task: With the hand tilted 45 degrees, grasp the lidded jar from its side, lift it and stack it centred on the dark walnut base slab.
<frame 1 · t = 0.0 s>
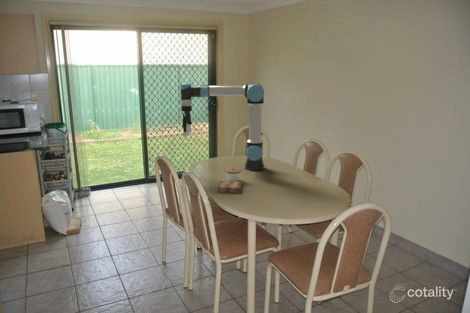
hand: (187, 134, 258), 28 cm above the table, tool pointing down, fingers open, 13 cm apart
lidded jar: (233, 181, 243), on the table
base: (229, 188, 227), on the table
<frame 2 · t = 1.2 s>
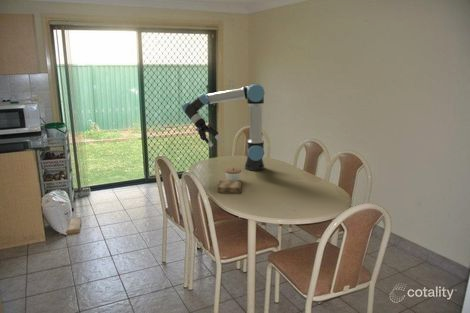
hand: (216, 144, 246), 24 cm above the table, tool tilted 45°, fingers open, 13 cm apart
nothing on the table moved.
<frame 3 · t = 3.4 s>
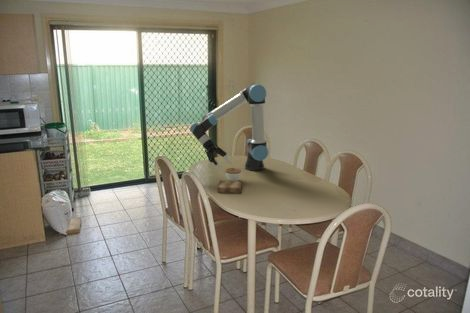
hand: (225, 165, 242), 10 cm above the table, tool tilted 45°, fingers open, 13 cm apart
nothing on the table moved.
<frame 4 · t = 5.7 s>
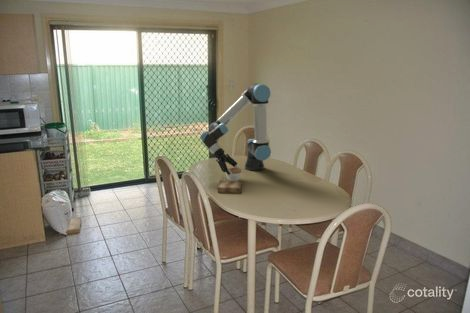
hand: (237, 175, 241), 4 cm above the table, tool tilted 45°, fingers closed on lidded jar, 11 cm apart
lidded jar: (233, 181, 243), on the table, touching gripper
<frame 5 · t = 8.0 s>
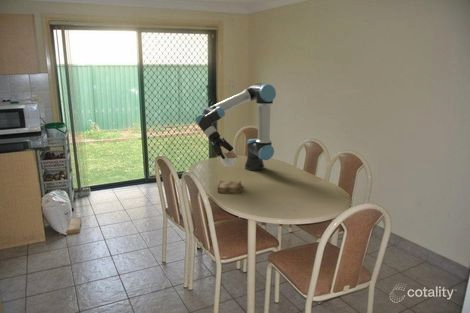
hand: (232, 160, 230), 17 cm above the table, tool tilted 45°, fingers closed on lidded jar, 11 cm apart
lidded jar: (228, 166, 232), point 13 cm above the table, touching gripper
when the fingers open (9 cm above the table, at t = 10.5 s): lidded jar drops 1 cm, resting on base.
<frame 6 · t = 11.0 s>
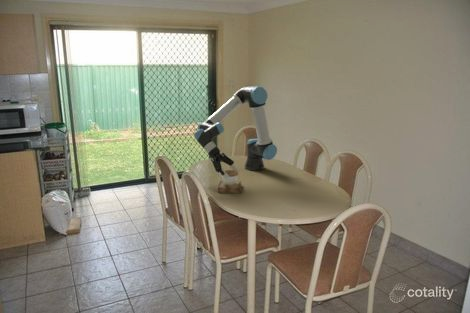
hand: (233, 175, 223), 9 cm above the table, tool tilted 45°, fingers open, 13 cm apart
lidded jar: (229, 184, 226), point 3 cm above the table, touching base
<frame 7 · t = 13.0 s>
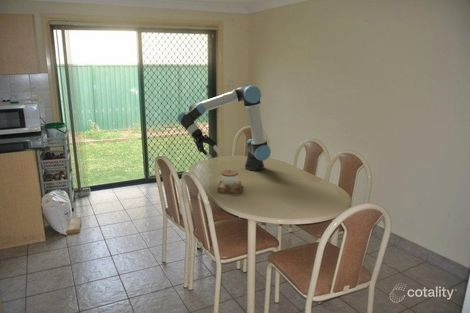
hand: (215, 155, 235), 19 cm above the table, tool tilted 45°, fingers open, 13 cm apart
nothing on the table moved.
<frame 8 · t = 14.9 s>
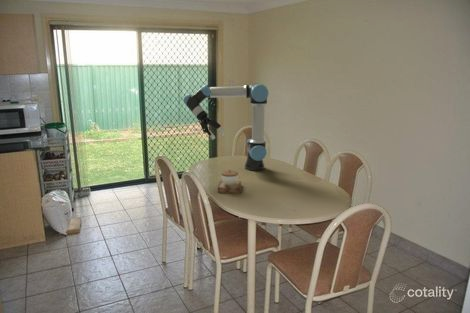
hand: (219, 137, 240), 30 cm above the table, tool tilted 45°, fingers open, 13 cm apart
nothing on the table moved.
at the end: lidded jar 0.2 cm from the base (horizontally); lidded jar touching base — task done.
